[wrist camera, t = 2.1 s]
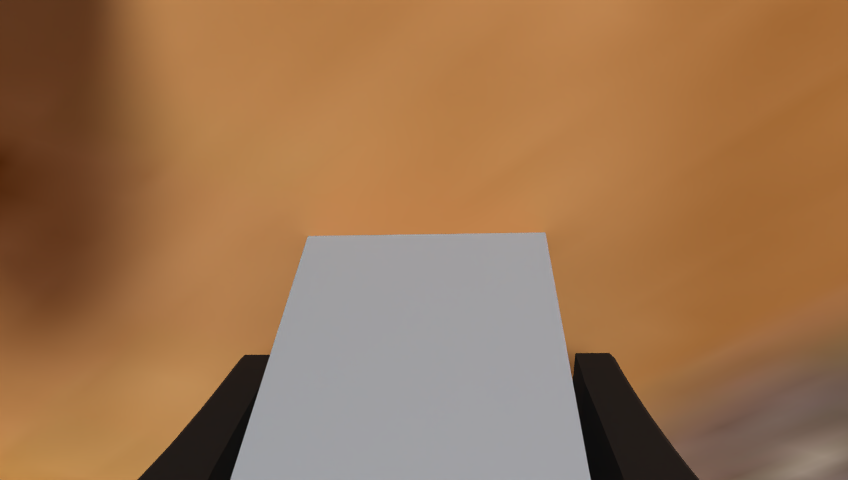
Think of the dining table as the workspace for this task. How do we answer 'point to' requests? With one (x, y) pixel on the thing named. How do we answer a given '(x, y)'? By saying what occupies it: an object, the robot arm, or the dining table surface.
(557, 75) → the dining table surface
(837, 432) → the dining table surface
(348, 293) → the blue-grey block
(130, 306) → the dining table surface
